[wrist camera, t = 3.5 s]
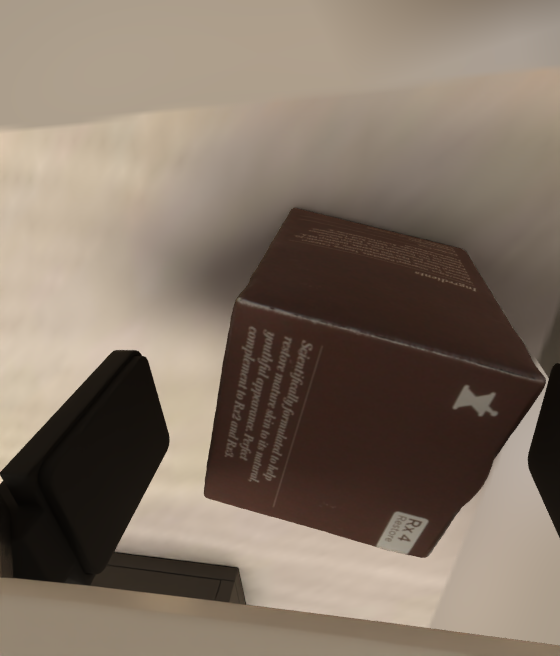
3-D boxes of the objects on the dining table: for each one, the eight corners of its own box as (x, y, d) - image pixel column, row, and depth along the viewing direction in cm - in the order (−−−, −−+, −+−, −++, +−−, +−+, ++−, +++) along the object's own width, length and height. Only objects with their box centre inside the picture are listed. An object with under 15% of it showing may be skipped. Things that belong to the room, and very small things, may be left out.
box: (292, 200, 14) (231, 289, 8) (471, 247, 14) (562, 380, 7) (259, 349, 17) (196, 500, 11) (404, 389, 17) (428, 569, 10)
